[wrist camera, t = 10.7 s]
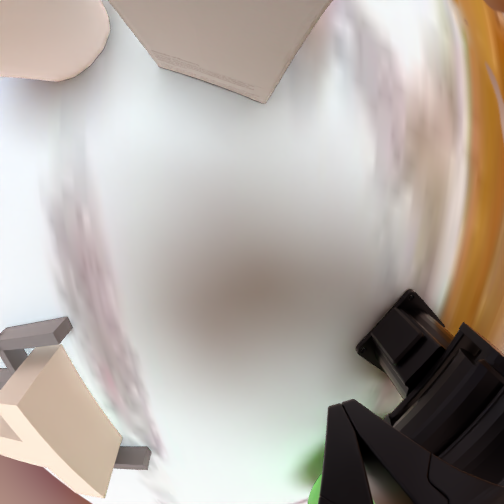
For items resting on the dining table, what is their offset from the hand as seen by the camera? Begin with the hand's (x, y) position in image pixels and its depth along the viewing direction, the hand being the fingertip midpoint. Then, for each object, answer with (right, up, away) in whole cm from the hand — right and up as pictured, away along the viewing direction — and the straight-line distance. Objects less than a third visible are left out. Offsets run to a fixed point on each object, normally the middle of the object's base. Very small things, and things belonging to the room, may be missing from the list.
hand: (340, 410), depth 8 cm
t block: (-24, -10, +14) cm, 30 cm away
